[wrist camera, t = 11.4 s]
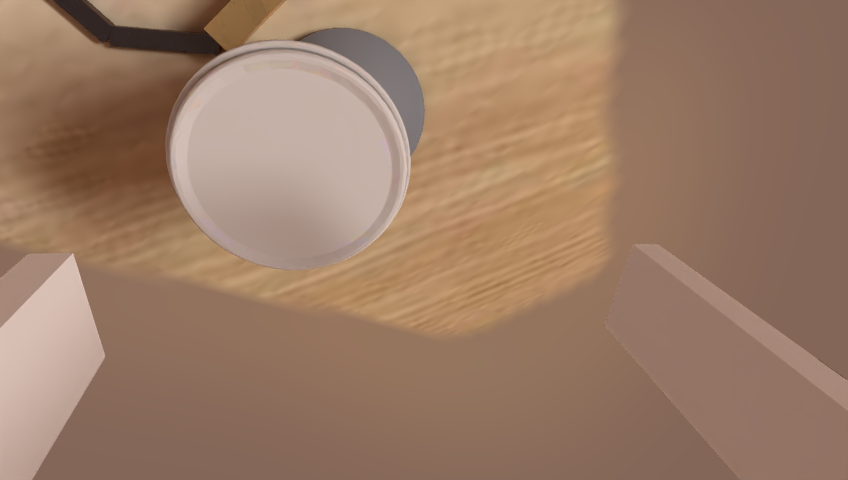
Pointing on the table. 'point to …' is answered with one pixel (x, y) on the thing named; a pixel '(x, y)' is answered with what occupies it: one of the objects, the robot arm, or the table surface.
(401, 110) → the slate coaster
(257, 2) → the socket ring
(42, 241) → the table surface
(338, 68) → the coffee cup
